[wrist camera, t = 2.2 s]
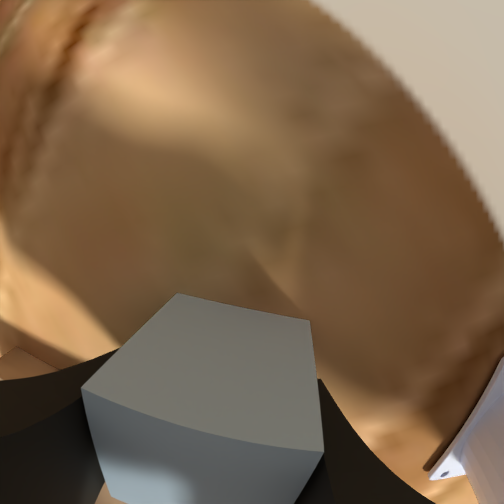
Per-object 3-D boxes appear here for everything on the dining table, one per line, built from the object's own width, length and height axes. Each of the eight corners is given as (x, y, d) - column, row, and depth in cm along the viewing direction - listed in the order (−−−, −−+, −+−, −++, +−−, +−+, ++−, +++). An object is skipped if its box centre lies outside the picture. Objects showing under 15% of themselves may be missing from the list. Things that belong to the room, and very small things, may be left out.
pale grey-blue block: (309, 320, 9) (324, 451, 4) (280, 417, 10) (269, 539, 5) (177, 292, 10) (80, 387, 4) (170, 392, 11) (110, 496, 5)
